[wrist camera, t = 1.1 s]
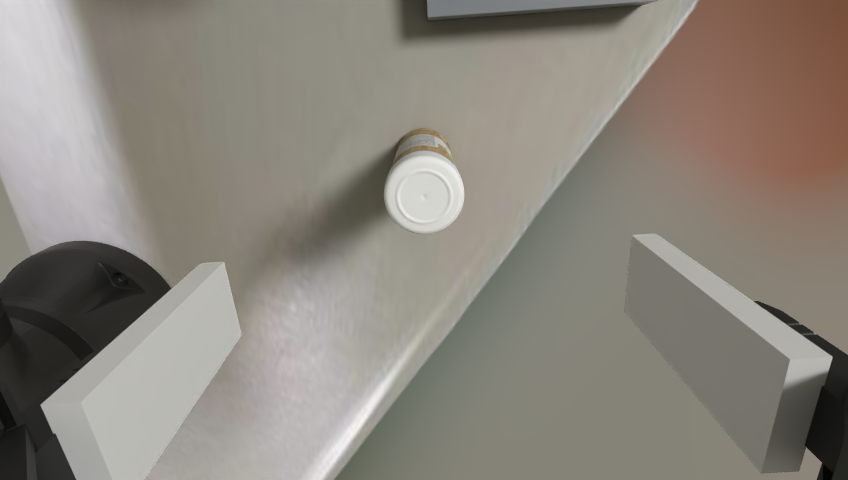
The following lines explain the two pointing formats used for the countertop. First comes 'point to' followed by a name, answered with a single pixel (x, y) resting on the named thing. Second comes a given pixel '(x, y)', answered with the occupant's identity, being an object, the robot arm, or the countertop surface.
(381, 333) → the countertop surface
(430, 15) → the tray
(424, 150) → the sprinkles bottle
